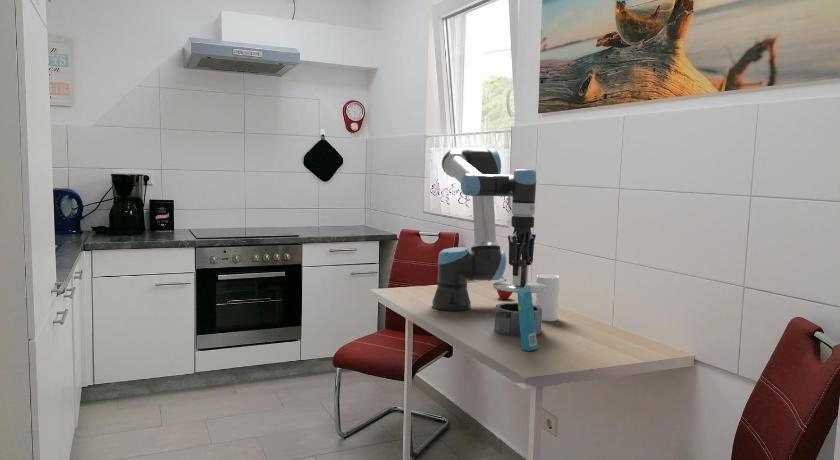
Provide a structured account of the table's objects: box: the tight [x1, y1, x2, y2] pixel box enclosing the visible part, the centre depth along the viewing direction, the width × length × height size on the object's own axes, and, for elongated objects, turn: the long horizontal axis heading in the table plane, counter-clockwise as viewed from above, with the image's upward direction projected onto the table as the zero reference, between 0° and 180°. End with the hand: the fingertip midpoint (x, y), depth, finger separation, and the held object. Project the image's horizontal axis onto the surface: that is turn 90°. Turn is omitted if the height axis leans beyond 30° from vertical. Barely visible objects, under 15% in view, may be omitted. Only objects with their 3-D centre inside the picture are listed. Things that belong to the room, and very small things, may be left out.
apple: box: [496, 276, 513, 300], centre depth 263 cm, size 8×7×10 cm
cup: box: [534, 273, 560, 322], centre depth 229 cm, size 8×8×16 cm
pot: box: [493, 302, 543, 338], centre depth 211 cm, size 21×16×8 cm
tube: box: [517, 285, 538, 352], centre depth 188 cm, size 7×5×19 cm, turn 147°
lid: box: [492, 258, 547, 294], centre depth 209 cm, size 18×18×10 cm
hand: (519, 284), depth 210 cm, fingers closed on lid, 4 cm apart
